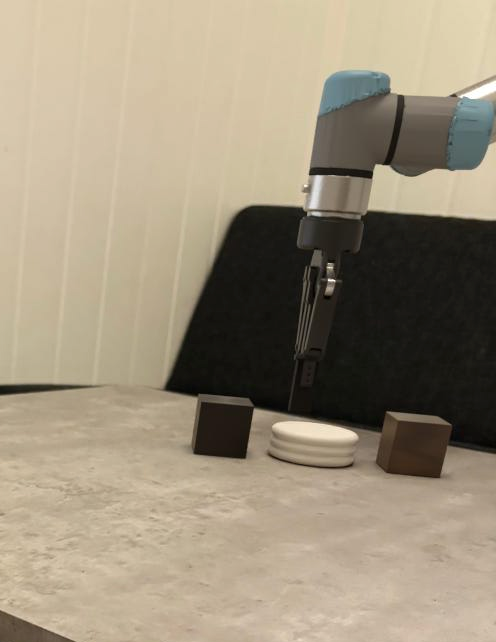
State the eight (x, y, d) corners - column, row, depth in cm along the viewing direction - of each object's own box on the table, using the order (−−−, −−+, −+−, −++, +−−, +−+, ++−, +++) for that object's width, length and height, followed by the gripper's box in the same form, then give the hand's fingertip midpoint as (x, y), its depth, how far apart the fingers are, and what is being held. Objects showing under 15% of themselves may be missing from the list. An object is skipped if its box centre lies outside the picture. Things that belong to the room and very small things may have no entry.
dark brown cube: (240, 448, 122) (249, 398, 120) (245, 458, 117) (254, 406, 114) (191, 443, 123) (198, 393, 120) (193, 453, 117) (201, 401, 115)
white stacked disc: (250, 452, 120) (255, 423, 119) (298, 446, 126) (303, 418, 125) (322, 471, 113) (328, 440, 112) (369, 463, 120) (376, 434, 118)
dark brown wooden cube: (426, 466, 121) (438, 416, 118) (440, 478, 115) (452, 425, 113) (375, 461, 121) (386, 411, 119) (386, 472, 115) (398, 420, 113)
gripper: (294, 215, 129) (264, 401, 138) (310, 213, 117) (276, 417, 126) (353, 219, 129) (319, 406, 138) (376, 218, 117) (337, 422, 126)
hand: (299, 411), depth 132 cm, fingers closed
